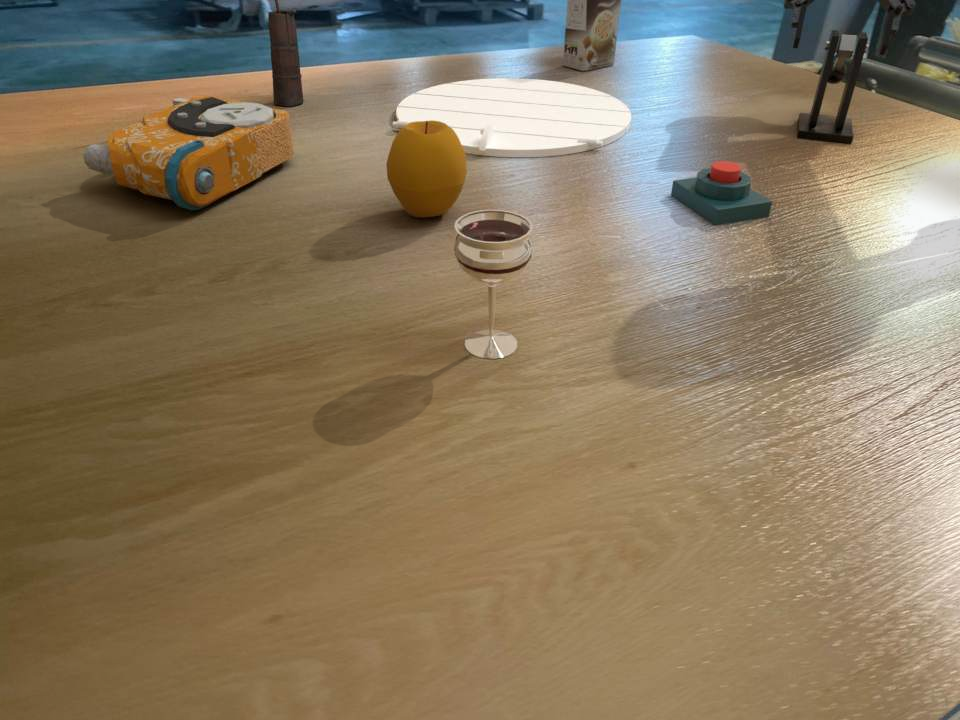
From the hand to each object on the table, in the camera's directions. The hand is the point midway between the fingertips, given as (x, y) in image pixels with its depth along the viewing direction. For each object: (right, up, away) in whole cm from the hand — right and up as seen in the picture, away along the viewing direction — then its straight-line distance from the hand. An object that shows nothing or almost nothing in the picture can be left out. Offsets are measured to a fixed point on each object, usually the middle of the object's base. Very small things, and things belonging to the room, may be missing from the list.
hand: (839, 47), depth 127 cm
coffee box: (-38, +8, +30) cm, 49 cm away
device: (-99, -25, -20) cm, 104 cm away
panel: (-29, -32, -29) cm, 52 cm away
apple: (-66, -34, -32) cm, 81 cm away
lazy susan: (-54, -12, +1) cm, 56 cm away
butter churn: (-92, -7, +7) cm, 93 cm away
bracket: (-4, -15, -4) cm, 16 cm away
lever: (-3, -6, -6) cm, 9 cm away
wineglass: (-59, -51, -56) cm, 96 cm away
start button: (-29, -29, -31) cm, 52 cm away
